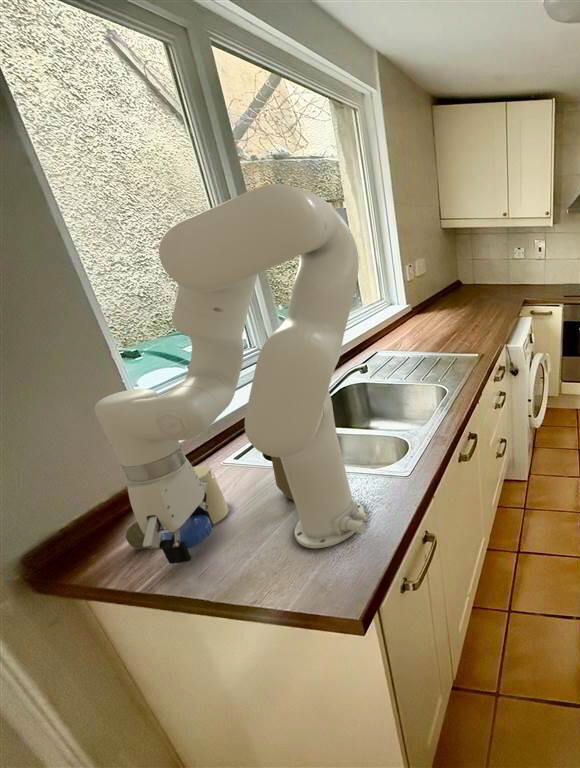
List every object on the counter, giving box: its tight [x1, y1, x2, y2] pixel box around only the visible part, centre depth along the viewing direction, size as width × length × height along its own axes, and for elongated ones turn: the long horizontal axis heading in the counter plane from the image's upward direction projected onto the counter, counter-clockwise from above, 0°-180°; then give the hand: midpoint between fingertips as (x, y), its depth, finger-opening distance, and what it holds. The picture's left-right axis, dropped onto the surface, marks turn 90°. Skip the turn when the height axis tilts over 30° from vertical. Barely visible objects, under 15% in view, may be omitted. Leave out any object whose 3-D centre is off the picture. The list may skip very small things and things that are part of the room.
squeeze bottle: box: [270, 456, 294, 501], centre depth 83 cm, size 8×8×18 cm
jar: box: [192, 465, 229, 525], centre depth 78 cm, size 6×6×11 cm
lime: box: [125, 521, 145, 550], centre depth 73 cm, size 4×5×5 cm
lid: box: [165, 515, 214, 550], centre depth 70 cm, size 7×7×2 cm
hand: (193, 544), depth 71 cm, fingers closed on lid, 6 cm apart
